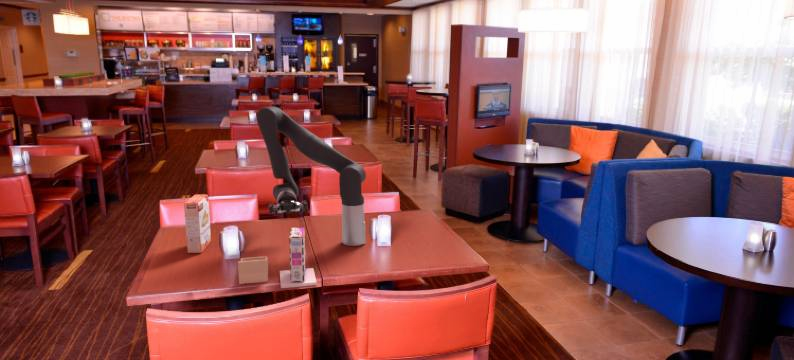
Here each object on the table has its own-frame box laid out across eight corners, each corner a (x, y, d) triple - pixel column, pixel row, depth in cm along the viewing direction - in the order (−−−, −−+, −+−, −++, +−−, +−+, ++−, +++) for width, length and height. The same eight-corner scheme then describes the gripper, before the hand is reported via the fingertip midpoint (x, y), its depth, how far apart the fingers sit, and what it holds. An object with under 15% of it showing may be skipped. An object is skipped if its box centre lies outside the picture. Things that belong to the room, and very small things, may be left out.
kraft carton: (267, 261, 204) (266, 241, 202) (268, 281, 186) (266, 259, 184) (241, 263, 202) (240, 243, 200) (239, 284, 184) (237, 262, 182)
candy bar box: (305, 282, 183) (303, 236, 179) (290, 283, 182) (288, 237, 179) (306, 269, 194) (304, 226, 190) (292, 270, 193) (290, 227, 189)
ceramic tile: (313, 270, 196) (313, 268, 195) (316, 285, 183) (316, 282, 183) (279, 273, 193) (279, 270, 193) (280, 288, 181) (280, 285, 180)
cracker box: (202, 253, 212) (198, 202, 207) (187, 254, 211) (182, 203, 207) (212, 241, 225) (208, 193, 221) (197, 242, 225) (193, 193, 220)
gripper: (267, 193, 208) (268, 203, 193) (304, 190, 211) (308, 200, 196) (269, 211, 210) (269, 223, 194) (305, 208, 213) (309, 220, 198)
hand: (288, 212), depth 195 cm, fingers open, 8 cm apart
